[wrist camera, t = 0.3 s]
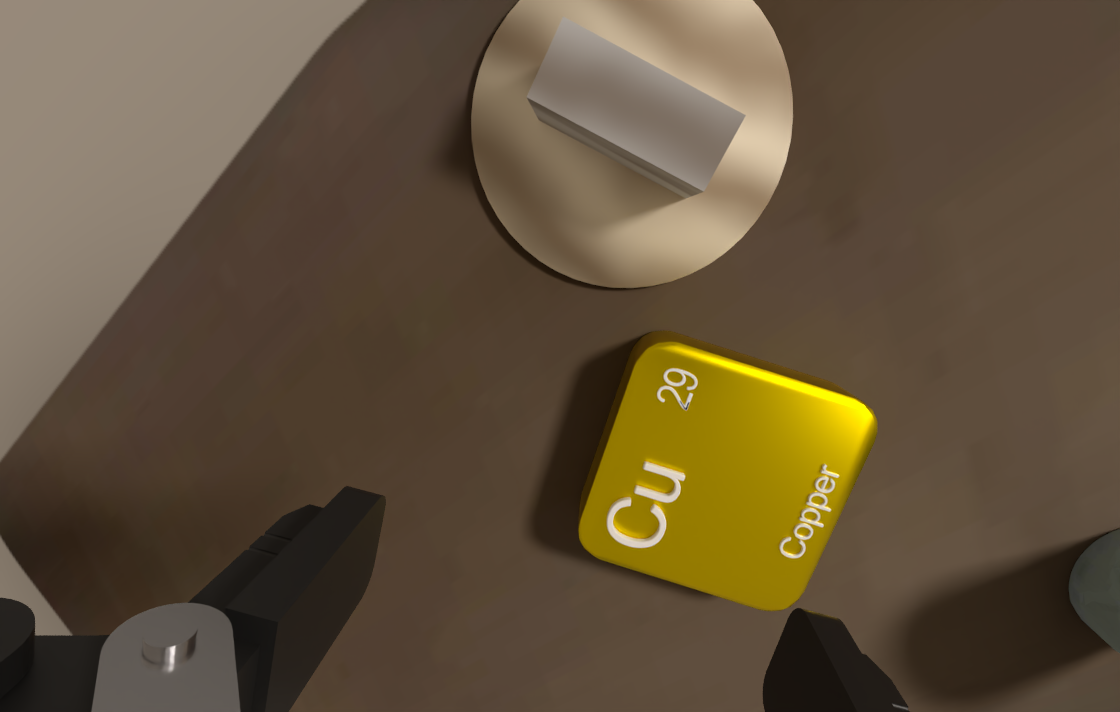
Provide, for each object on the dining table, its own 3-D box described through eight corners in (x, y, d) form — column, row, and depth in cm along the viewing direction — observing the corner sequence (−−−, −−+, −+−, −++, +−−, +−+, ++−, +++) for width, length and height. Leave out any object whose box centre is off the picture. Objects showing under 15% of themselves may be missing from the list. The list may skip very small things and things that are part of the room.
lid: (560, -108, 32) (549, -200, 25) (850, 52, 33) (917, 5, 26) (426, 202, 36) (386, 194, 29) (686, 337, 37) (706, 361, 30)
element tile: (771, 581, 40) (794, 627, 35) (572, 518, 40) (568, 556, 35) (858, 389, 37) (897, 412, 32) (640, 320, 37) (646, 333, 32)
